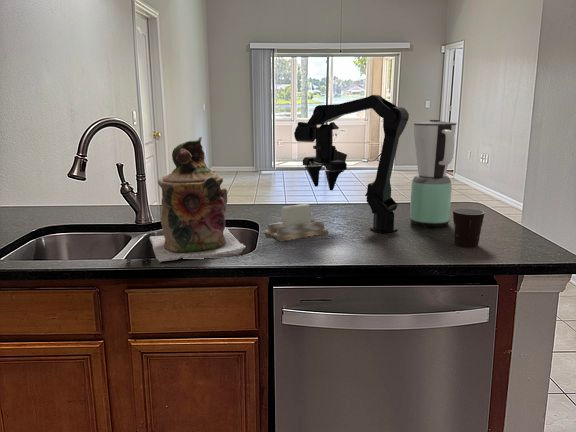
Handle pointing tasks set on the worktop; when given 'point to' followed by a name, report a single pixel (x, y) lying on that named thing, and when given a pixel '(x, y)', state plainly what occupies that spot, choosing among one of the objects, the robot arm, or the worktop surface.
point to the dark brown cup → (467, 227)
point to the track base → (296, 230)
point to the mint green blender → (432, 173)
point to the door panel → (296, 215)
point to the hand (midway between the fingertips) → (323, 188)
